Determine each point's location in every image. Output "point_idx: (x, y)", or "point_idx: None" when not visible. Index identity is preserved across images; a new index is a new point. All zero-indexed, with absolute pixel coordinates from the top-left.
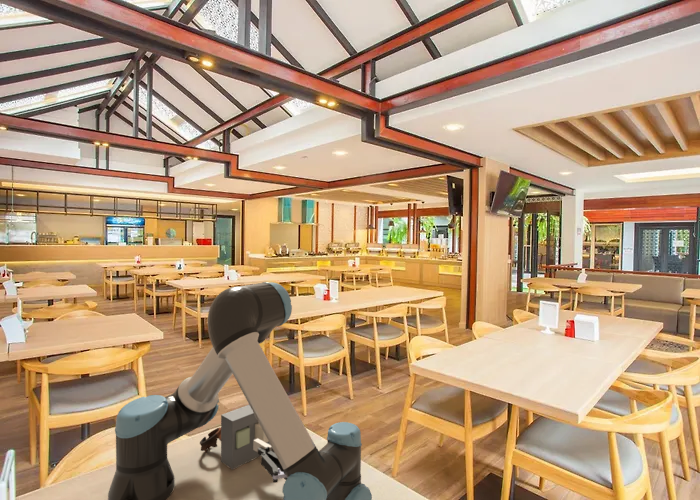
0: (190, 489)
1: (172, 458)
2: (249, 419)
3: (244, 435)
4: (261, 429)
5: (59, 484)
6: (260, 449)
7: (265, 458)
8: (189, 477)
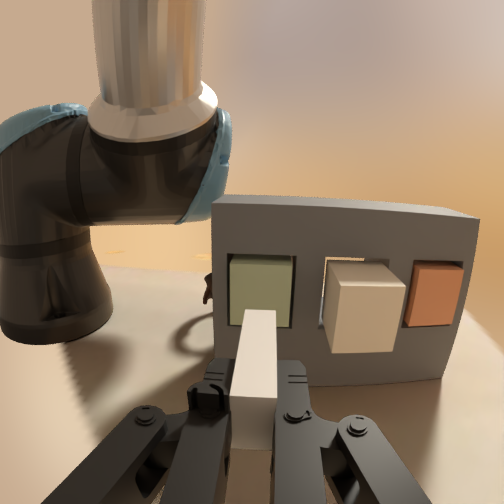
0: (86, 361)
1: (173, 292)
2: (299, 228)
3: (263, 285)
4: (336, 286)
5: None
6: (214, 372)
7: (99, 454)
8: (128, 337)
